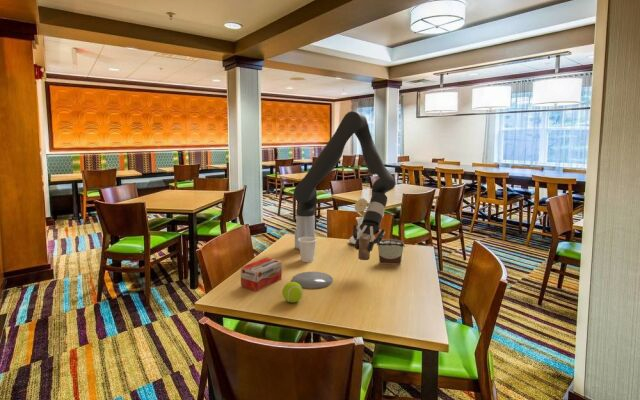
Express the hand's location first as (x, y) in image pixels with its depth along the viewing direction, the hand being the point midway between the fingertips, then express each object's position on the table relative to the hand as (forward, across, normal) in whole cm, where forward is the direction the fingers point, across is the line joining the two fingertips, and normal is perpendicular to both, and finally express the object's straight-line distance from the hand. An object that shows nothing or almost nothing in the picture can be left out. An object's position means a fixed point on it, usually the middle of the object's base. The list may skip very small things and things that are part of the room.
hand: (362, 249), depth 156 cm
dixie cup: (+3, -30, +14) cm, 33 cm away
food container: (-8, +5, +25) cm, 27 cm away
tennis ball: (+32, -13, -15) cm, 38 cm away
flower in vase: (-22, -17, +40) cm, 49 cm away
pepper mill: (+2, 0, +4) cm, 5 cm away
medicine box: (+26, -32, -8) cm, 42 cm away
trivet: (+18, -16, -1) cm, 24 cm away
